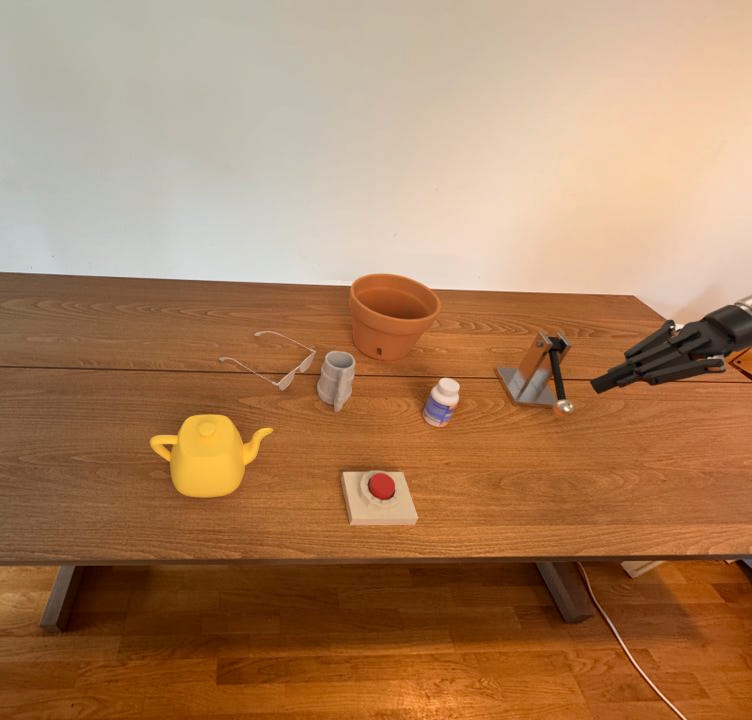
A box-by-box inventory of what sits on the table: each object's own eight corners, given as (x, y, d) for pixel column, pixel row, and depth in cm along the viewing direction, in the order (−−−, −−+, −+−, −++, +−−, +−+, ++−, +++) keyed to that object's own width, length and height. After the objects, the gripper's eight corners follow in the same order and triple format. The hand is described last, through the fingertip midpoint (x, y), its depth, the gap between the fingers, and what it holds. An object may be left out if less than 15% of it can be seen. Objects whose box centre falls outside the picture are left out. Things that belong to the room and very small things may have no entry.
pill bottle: (444, 431, 86) (460, 397, 80) (418, 420, 88) (432, 386, 82) (450, 415, 90) (466, 382, 84) (425, 405, 92) (439, 371, 86)
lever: (568, 419, 86) (580, 415, 82) (550, 418, 86) (562, 413, 82) (553, 343, 92) (564, 336, 89) (536, 341, 92) (547, 334, 89)
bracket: (558, 409, 93) (594, 357, 84) (513, 405, 93) (544, 354, 84) (534, 373, 103) (565, 323, 93) (494, 370, 103) (520, 320, 93)
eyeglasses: (277, 397, 91) (278, 383, 89) (216, 361, 99) (215, 348, 97) (315, 362, 101) (317, 349, 99) (256, 333, 109) (257, 320, 106)
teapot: (271, 505, 71) (276, 460, 63) (150, 509, 69) (140, 463, 61) (266, 443, 81) (270, 397, 73) (161, 445, 79) (153, 398, 72)
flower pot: (437, 346, 109) (457, 296, 100) (396, 383, 97) (413, 331, 88) (369, 312, 120) (381, 265, 111) (324, 342, 108) (333, 291, 98)
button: (389, 478, 72) (391, 472, 71) (395, 499, 69) (398, 493, 68) (366, 478, 72) (368, 472, 71) (371, 499, 69) (374, 493, 68)
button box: (399, 478, 77) (405, 465, 74) (414, 525, 70) (421, 512, 67) (340, 478, 76) (344, 465, 73) (349, 525, 69) (354, 512, 66)
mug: (348, 383, 96) (358, 341, 88) (354, 421, 87) (366, 378, 79) (315, 381, 96) (322, 339, 88) (317, 419, 87) (325, 376, 79)
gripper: (786, 360, 66) (619, 423, 77) (721, 314, 76) (581, 376, 87) (780, 330, 63) (607, 400, 73) (713, 287, 73) (569, 354, 84)
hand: (593, 387), depth 80 cm, fingers closed
